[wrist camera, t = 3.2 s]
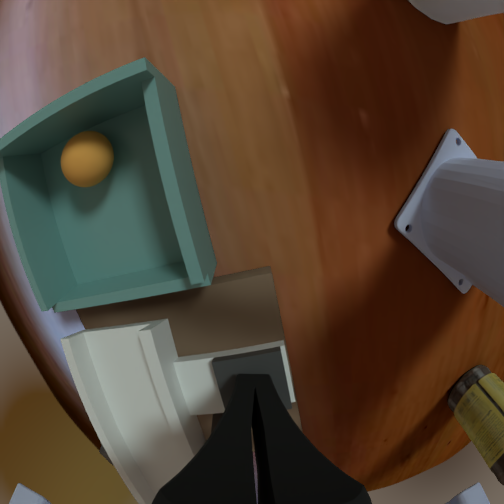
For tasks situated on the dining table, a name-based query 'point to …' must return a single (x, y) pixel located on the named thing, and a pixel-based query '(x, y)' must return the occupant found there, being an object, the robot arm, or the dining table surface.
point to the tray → (159, 395)
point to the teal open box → (107, 196)
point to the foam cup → (458, 9)
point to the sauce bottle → (482, 414)
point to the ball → (87, 159)
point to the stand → (206, 321)
